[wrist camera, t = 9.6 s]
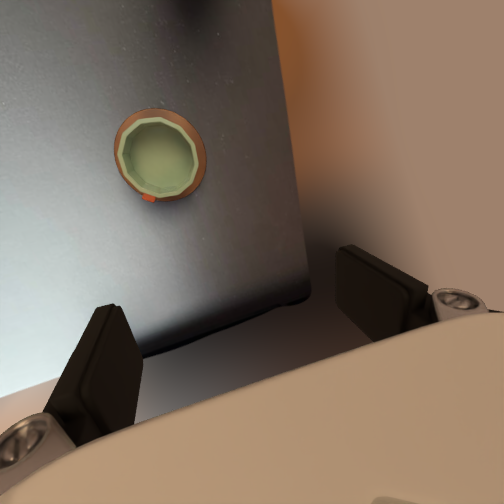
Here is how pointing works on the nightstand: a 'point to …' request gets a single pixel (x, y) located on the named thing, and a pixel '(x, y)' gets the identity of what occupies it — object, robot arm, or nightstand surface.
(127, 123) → the plate
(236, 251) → the nightstand surface
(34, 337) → the nightstand surface
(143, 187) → the bowl
